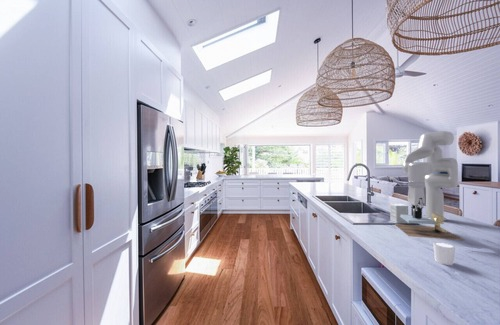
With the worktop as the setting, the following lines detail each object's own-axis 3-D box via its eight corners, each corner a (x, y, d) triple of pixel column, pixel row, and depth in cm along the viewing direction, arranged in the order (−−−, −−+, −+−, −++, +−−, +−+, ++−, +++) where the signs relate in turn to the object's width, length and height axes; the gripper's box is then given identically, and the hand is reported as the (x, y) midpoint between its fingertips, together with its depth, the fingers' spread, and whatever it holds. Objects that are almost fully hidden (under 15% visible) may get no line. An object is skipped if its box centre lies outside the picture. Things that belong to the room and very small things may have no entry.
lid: (400, 217, 132) (400, 206, 132) (424, 218, 128) (423, 207, 128) (408, 222, 120) (408, 211, 120) (434, 224, 117) (434, 212, 117)
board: (394, 226, 136) (394, 223, 136) (440, 229, 129) (440, 226, 129) (408, 238, 115) (408, 235, 115) (465, 243, 108) (465, 240, 108)
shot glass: (431, 261, 89) (431, 244, 89) (433, 256, 94) (433, 240, 94) (454, 267, 84) (455, 249, 84) (455, 261, 89) (455, 244, 89)
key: (441, 235, 115) (441, 217, 115) (431, 228, 125) (431, 212, 125) (446, 235, 114) (447, 217, 114) (436, 229, 125) (436, 213, 124)
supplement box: (401, 222, 144) (401, 203, 144) (408, 225, 137) (408, 205, 137) (389, 222, 145) (389, 203, 145) (396, 225, 138) (396, 205, 138)
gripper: (403, 182, 133) (403, 212, 133) (415, 186, 117) (415, 220, 117) (417, 183, 131) (417, 213, 131) (431, 186, 115) (432, 221, 115)
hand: (416, 216), depth 124 cm, fingers closed on lid, 3 cm apart
